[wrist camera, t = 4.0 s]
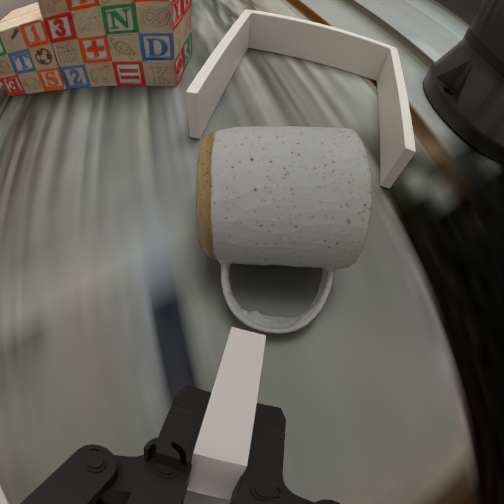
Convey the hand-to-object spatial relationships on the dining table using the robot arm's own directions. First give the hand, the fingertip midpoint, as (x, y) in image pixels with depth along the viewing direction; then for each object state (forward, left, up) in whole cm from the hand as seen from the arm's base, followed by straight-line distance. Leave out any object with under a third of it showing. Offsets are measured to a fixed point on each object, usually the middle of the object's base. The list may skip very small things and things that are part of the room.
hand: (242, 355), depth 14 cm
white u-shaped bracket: (-21, -8, -4) cm, 22 cm away
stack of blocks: (-13, -28, -4) cm, 31 cm away
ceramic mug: (-7, -2, -4) cm, 8 cm away
